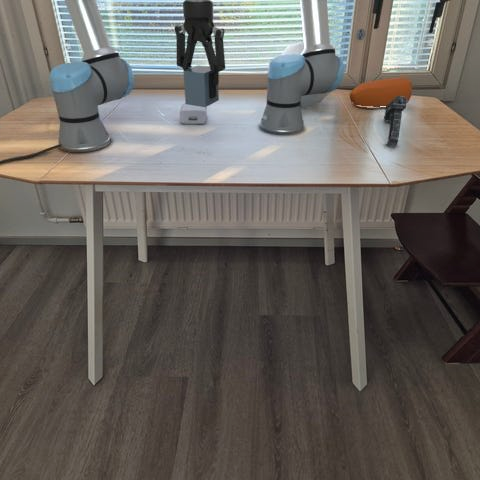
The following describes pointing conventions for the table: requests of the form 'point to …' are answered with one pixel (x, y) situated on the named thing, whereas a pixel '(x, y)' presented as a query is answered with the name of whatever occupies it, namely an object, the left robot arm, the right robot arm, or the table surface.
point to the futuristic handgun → (395, 118)
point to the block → (198, 86)
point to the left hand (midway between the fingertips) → (201, 95)
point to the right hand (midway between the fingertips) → (402, 30)
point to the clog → (381, 92)
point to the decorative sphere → (306, 99)
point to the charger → (192, 114)
